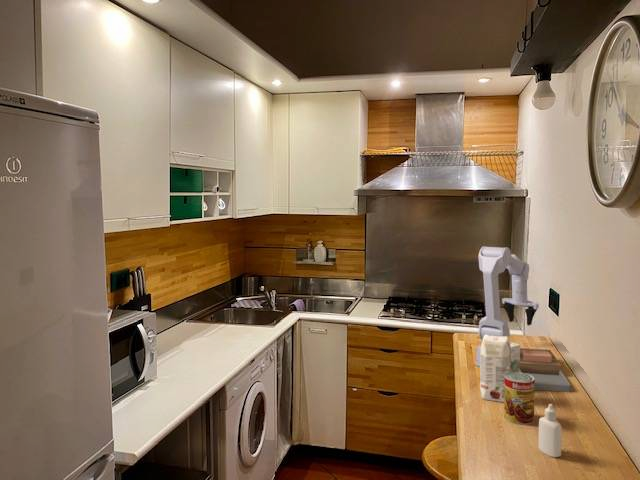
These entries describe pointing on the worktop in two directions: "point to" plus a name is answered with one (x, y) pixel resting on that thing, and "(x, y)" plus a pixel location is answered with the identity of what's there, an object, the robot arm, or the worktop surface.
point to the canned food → (519, 398)
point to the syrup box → (515, 357)
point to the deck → (540, 365)
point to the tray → (551, 382)
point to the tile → (536, 356)
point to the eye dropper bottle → (550, 433)
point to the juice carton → (494, 366)
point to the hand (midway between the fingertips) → (520, 322)
